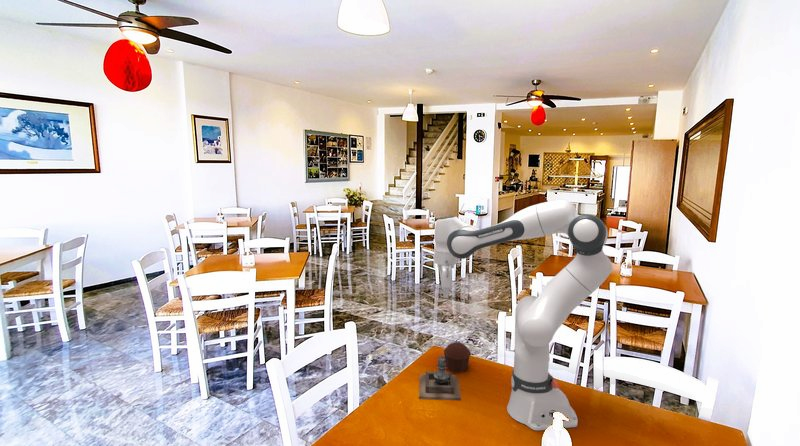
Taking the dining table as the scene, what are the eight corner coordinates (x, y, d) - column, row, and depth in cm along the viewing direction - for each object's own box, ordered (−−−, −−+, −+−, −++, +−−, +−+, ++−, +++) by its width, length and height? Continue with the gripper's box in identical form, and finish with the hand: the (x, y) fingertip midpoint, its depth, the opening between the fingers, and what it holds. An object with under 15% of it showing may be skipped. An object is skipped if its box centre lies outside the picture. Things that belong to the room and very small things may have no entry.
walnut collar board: (457, 377, 156) (457, 369, 155) (460, 400, 141) (461, 391, 140) (419, 376, 157) (419, 368, 156) (419, 398, 142) (419, 389, 141)
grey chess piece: (447, 389, 146) (448, 359, 144) (432, 386, 148) (432, 357, 146) (450, 381, 151) (450, 352, 150) (435, 378, 153) (435, 349, 151)
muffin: (442, 359, 170) (443, 338, 169) (468, 360, 170) (468, 338, 168) (444, 374, 158) (445, 351, 157) (472, 375, 158) (472, 351, 156)
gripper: (456, 265, 138) (455, 302, 140) (452, 252, 158) (451, 285, 160) (438, 265, 138) (437, 302, 140) (436, 252, 158) (436, 285, 160)
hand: (445, 293), depth 150 cm, fingers open, 8 cm apart
